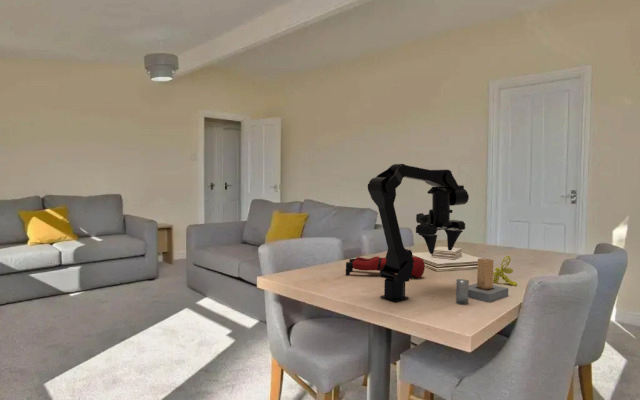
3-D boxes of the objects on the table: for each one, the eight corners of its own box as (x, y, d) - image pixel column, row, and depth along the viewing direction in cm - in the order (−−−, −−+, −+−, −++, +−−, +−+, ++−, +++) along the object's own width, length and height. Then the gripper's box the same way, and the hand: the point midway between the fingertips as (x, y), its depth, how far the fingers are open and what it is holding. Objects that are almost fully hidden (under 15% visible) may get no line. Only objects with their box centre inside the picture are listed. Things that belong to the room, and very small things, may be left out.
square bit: (484, 297, 140) (485, 260, 139) (476, 294, 143) (477, 258, 142) (492, 296, 141) (493, 259, 140) (484, 293, 144) (485, 258, 144)
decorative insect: (497, 297, 158) (479, 275, 161) (499, 295, 161) (481, 273, 164) (527, 278, 152) (507, 255, 155) (528, 276, 155) (509, 253, 158)
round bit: (463, 305, 131) (464, 282, 131) (453, 302, 134) (454, 280, 134) (470, 303, 134) (471, 280, 133) (460, 300, 136) (460, 278, 136)
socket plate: (488, 302, 134) (489, 294, 134) (460, 295, 142) (460, 287, 142) (508, 295, 142) (508, 288, 142) (480, 289, 150) (480, 282, 150)
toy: (340, 282, 160) (423, 288, 153) (340, 260, 160) (423, 264, 152) (353, 267, 187) (425, 271, 180) (354, 247, 187) (425, 251, 179)
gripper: (441, 202, 158) (440, 245, 159) (403, 206, 148) (404, 251, 149) (466, 205, 149) (465, 250, 150) (428, 209, 138) (428, 257, 140)
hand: (440, 252), depth 148 cm, fingers open, 9 cm apart
